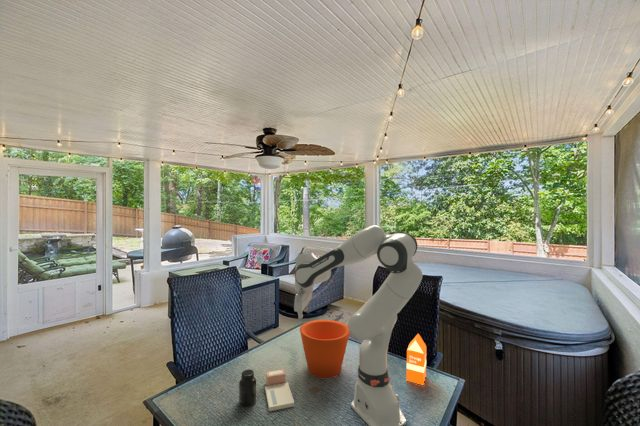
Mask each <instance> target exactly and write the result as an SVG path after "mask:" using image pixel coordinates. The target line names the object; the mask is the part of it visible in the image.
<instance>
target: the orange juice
mask: <svg viewBox="0 0 640 426" xmlns="http://www.w3.org/2000/svg"><path fill="white" fill-rule="evenodd" d="M425 377H426V378H427V345H426V343H425V342H424V340H423V338H422V336H421V335H420V334H419V333H417V334H416V335H415V336H414V338H413V339H412V340H411V341H410V342H409V344H408V347H407V349H406V381H410V382H414V383H417V384H421V385H424V386H425V383H424V381H425V382H426V379H425ZM410 382H409V383H410ZM417 384H416V385H417Z"/></svg>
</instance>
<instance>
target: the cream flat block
mask: <svg viewBox="0 0 640 426" xmlns="http://www.w3.org/2000/svg"><path fill="white" fill-rule="evenodd" d="M264 392H265V396H266V402H267V406H268V408H267V409H268V412H272V411H277V410H282V409H288V408H292V407H295V400H294V398H293V393H292V391H291V388H290V385H289V382H287V381H285V383H280V384H274V385H268V386H267V385H265V386H264Z"/></svg>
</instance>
